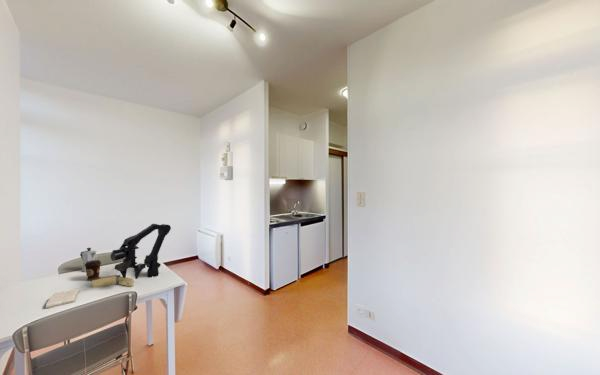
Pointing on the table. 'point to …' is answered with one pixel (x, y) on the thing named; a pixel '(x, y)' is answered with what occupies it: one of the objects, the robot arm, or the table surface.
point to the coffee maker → (87, 257)
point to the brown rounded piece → (92, 269)
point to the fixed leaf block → (104, 281)
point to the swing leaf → (124, 281)
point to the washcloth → (62, 298)
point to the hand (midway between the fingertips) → (130, 278)
